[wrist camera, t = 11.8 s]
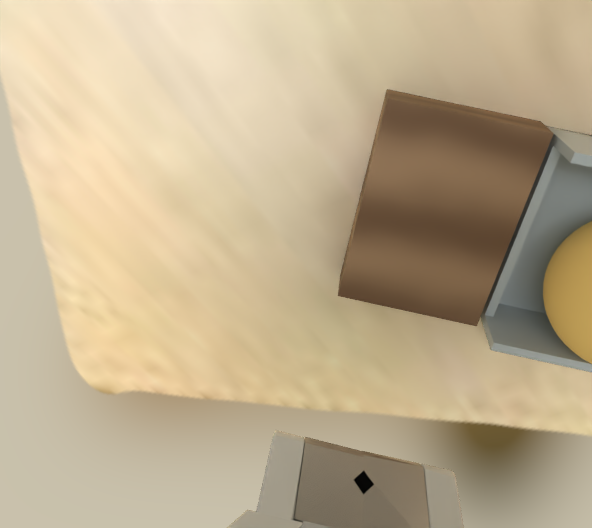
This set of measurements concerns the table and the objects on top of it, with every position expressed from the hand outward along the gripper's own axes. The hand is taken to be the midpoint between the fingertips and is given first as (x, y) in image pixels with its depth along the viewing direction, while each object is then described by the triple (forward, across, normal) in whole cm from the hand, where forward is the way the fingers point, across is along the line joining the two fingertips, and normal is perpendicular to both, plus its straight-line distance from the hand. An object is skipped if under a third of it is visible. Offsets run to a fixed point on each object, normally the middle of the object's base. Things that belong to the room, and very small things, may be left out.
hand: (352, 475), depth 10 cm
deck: (+31, -6, +6) cm, 32 cm away
